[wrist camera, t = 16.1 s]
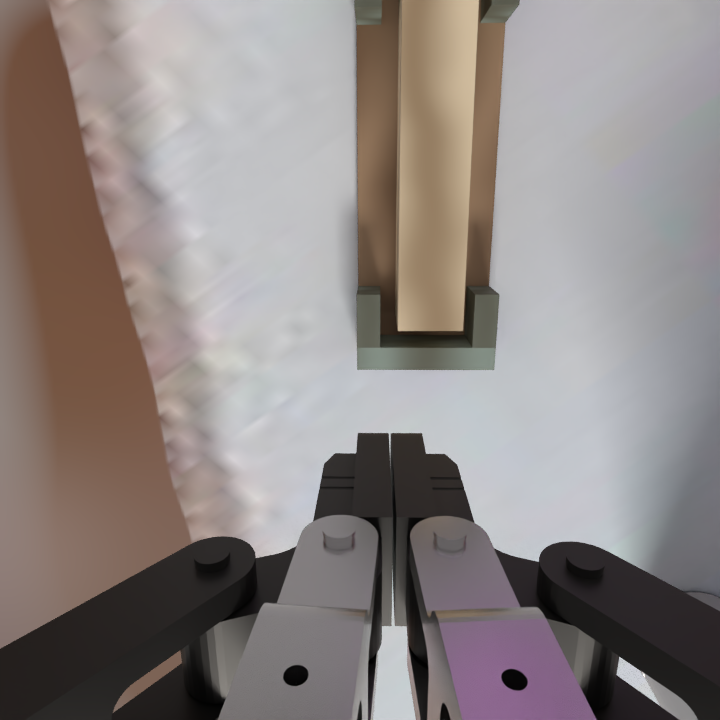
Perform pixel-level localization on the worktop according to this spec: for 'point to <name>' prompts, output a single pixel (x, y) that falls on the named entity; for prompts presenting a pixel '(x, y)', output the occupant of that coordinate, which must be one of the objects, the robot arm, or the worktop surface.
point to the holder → (379, 192)
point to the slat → (434, 160)
